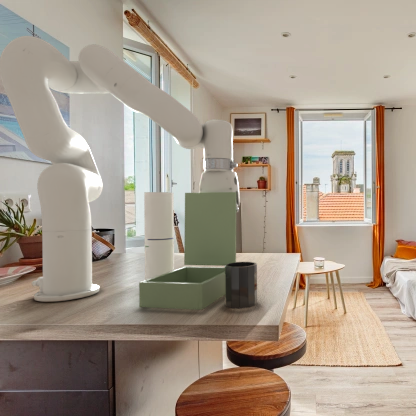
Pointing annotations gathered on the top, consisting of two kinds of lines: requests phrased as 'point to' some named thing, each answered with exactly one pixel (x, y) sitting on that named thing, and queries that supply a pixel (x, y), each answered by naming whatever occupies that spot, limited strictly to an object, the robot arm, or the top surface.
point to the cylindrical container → (159, 233)
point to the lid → (210, 228)
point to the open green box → (183, 288)
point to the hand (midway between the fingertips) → (219, 234)
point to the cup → (240, 284)
